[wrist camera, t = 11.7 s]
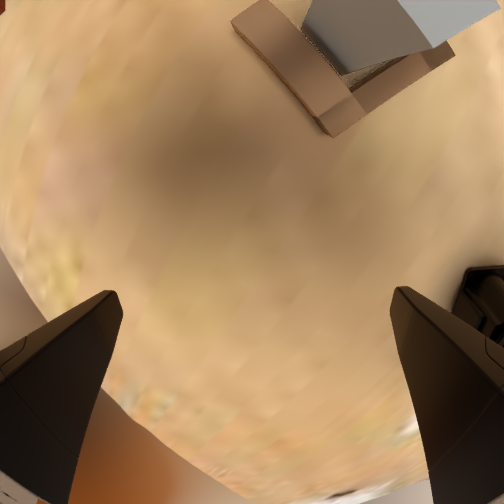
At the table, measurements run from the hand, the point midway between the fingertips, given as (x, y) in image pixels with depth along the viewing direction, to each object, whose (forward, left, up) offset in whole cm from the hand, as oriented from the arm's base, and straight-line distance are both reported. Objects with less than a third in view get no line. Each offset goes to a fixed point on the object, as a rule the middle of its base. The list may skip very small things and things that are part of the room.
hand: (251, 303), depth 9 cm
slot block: (-6, -10, -12) cm, 17 cm away
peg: (-6, -10, -12) cm, 17 cm away
